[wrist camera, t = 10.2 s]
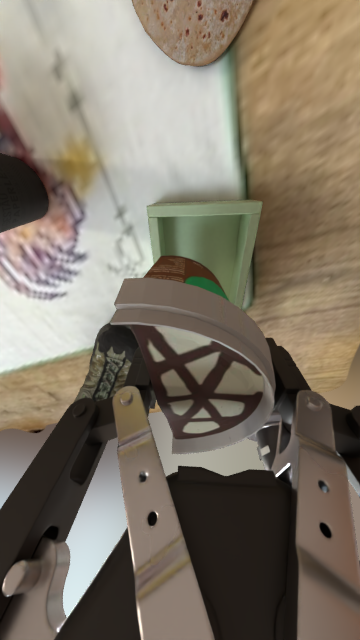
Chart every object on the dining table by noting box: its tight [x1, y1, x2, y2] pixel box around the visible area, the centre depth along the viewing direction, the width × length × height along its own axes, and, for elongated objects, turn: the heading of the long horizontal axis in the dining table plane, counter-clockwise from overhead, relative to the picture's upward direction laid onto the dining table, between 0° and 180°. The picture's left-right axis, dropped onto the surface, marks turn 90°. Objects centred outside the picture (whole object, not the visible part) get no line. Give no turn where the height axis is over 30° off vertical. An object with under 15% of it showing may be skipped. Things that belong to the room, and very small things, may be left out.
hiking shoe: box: [74, 323, 139, 402], centre depth 27 cm, size 8×21×9 cm, turn 154°
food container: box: [110, 255, 276, 454], centre depth 12 cm, size 12×6×10 cm, turn 8°
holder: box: [147, 200, 263, 309], centre depth 19 cm, size 15×9×4 cm, turn 2°
